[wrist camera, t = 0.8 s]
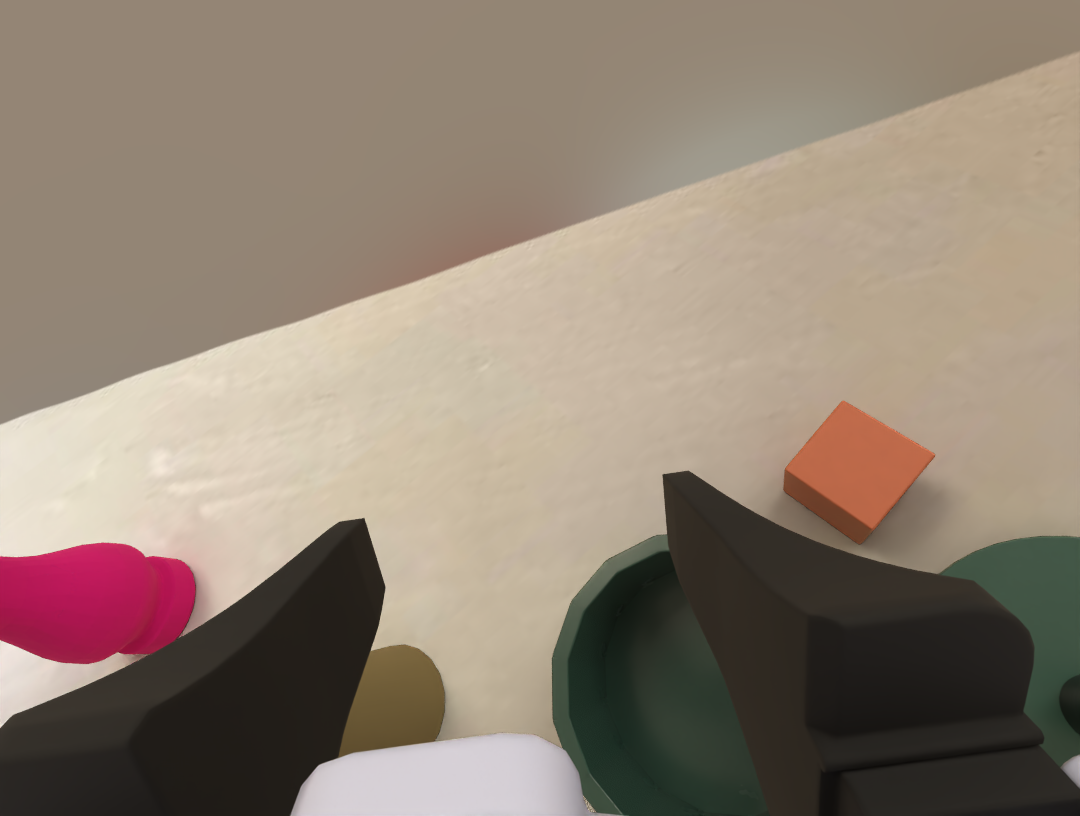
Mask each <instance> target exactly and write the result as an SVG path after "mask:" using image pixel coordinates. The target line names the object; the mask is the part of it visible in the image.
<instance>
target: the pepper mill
mask: <svg viewBox="0 0 1080 816" xmlns="http://www.w3.org/2000/svg"><path fill="white" fill-rule="evenodd" d="M194 600H195V582H194V577H193V574H192V572H191V570H190V569H189V567H188V566H187V565H186V564H185V563H184V562H182V561H180V560H178V559H171V558H164V557H155V556H151V557H145V556H144V555H143V554H142V552H140V551H139V550H137V549H136V548H134V547H132V546H129V545H126V544H117V543H95V544H86V545H80V546H76V547H72V548H68V549H64V550H60V551H56V552H52V553H48V554H43V555H38V556H28V557H0V640H1V641H4V642H6V643H9V644H12V645H14V646H17V647H19V648H21V649H24V650H26V651H28V652H30V653H33V654H35V655H37V656H40V657H42V658H45V659H49V660H53V661H57V662H61V663H75V664H90V663H95V662H99V661H102V660H104V659H106V658H108V657H110V656H111V655H113V654H115V653H117V652H119V653H122V654H152V653H154V652H156V651H157V650H159V649H161V648H163V647H164V646H166V645H168V644H170V643H172V642H173V641H174V640H175V639H176V638H177V637H178V636H179V635H180V634H181V632H182V631H183V629H184V627H185V626H186V624H187V622H188V620H189V617H190V615H191V612H192V609H193V606H194Z"/></svg>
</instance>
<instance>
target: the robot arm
mask: <svg viewBox="0 0 1080 816" xmlns="http://www.w3.org/2000/svg"><path fill="white" fill-rule="evenodd" d="M663 486H664V499H665V512H666V524H667V537H668V548H669V551H670V554H671V557H672V560H673V564H674V567H675V570H676V573H677V576H678V579H679V582H680V584H681V587H682V589H683V591H684V593H685V595H686V597H687V600H688V602H689V604H690V606H691V608H692V610H693V612H694V615H695V617H696V619H697V621H698V623H699V625H700V627H701V629H702V631H703V634H704V636H705V638H706V640H707V642H708V644H709V646H710V648H711V650H712V653H713V655H714V657H715V659H716V661H717V663H718V666H719V668H720V671H721V673H722V675H723V678H724V680H725V683H726V686H727V689H728V691H729V694H730V697H731V700H732V703H733V706H734V709H735V711H736V714H737V717H738V720H739V723H740V726H741V729H742V732H743V735H744V738H745V741H746V744H747V747H748V750H749V753H750V756H751V759H752V762H753V764H754V767H755V771H756V774H757V777H758V780H759V783H760V786H761V789H762V792H763V796H764V799H765V802H766V805H767V808H768V811H769V814H770V816H1080V755H1078V756H1074V757H1072V758H1071V759H1069V760H1068V761H1066V762H1065V763H1063V765H1062V766H1061V768H1060V767H1059V766H1058V765H1057V764H1056V763H1055V761H1054V760H1053V759H1052V758H1051V757H1050V756H1049V755H1048V754H1047V753H1046V752H1045V751H1044V750H1043V749H1042V747H1041V746H1040V745H1039V744H1043V742H1044V735H1043V733H1042V731H1041V729H1040V728H1039V727H1038V726H1037V725H1036V724H1035V723H1034V722H1033V721H1032V720H1031V719H1030V718H1029V717H1028V716H1027V715H1026V714H1025V713H1024V712H1023V711H1024V706H1025V702H1026V697H1027V693H1028V688H1029V684H1030V679H1031V675H1032V671H1033V666H1034V650H1035V646H1034V643H1033V640H1032V637H1031V635H1030V632H1029V630H1028V629H1027V628H1026V627H1025V626H1024V624H1023V623H1022V622H1021V621H1020V620H1019V619H1018V618H1017V617H1016V616H1015V615H1014V614H1012V613H1011V612H1010V611H1009V610H1008V609H1007V608H1006V607H1004V606H1003V605H1002V604H1001V603H1000V602H999V601H997V600H996V599H995V598H994V597H993V596H992V595H990V594H989V593H988V592H987V591H986V590H985V589H983V588H982V587H981V586H980V585H979V584H977V583H976V582H975V581H974V580H968V579H962V578H956V577H951V576H945V575H939V574H933V573H927V572H922V571H916V570H911V569H907V568H903V567H899V566H895V565H890V564H886V563H882V562H878V561H875V560H871V559H867V558H864V557H860V556H857V555H854V554H851V553H848V552H845V551H842V550H839V549H836V548H833V547H830V546H827V545H824V544H821V543H819V542H816V541H813V540H811V539H809V538H806V537H804V536H802V535H799V534H797V533H795V532H792V531H790V530H788V529H786V528H783V527H781V526H779V525H777V524H775V523H773V522H771V521H770V520H768V519H766V518H764V517H762V516H760V515H758V514H756V513H754V512H753V511H751V510H749V509H748V508H746V507H744V506H742V505H741V504H739V503H737V502H736V501H734V500H733V499H731V498H729V497H728V496H726V495H725V494H723V493H721V492H720V491H718V490H717V489H715V488H714V487H712V486H711V485H709V484H708V483H706V482H705V481H703V480H702V479H700V478H699V477H697V476H696V475H694V474H693V473H691V472H690V471H683V472H676V473H669V474H663ZM384 593H385V584H384V581H383V577H382V574H381V571H380V568H379V564H378V561H377V558H376V555H375V551H374V548H373V545H372V541H371V538H370V535H369V532H368V528H367V525H366V522H365V519H364V518H362V519H355V520H348V521H342V522H339V523H337V524H336V525H334V526H333V527H331V528H330V529H329V530H327V531H326V532H325V533H323V534H322V535H321V536H320V537H318V538H317V539H316V540H315V541H314V542H312V543H311V544H310V545H309V546H308V547H306V548H305V549H304V550H303V551H301V552H300V553H299V554H298V555H297V556H295V557H294V558H293V559H292V560H291V561H289V562H288V563H287V564H286V565H284V566H283V567H282V568H281V569H280V570H278V571H277V572H276V573H274V574H273V575H272V576H271V577H269V578H268V579H267V580H265V581H264V582H263V583H261V584H260V585H259V586H257V587H256V588H255V589H254V590H252V591H251V592H250V593H248V594H247V595H246V596H244V597H243V598H242V599H240V600H239V601H237V602H236V603H235V604H233V605H232V606H230V607H229V608H227V609H226V610H224V611H223V612H221V613H220V614H218V615H217V616H215V617H214V618H212V619H210V620H209V621H207V622H206V623H204V624H203V625H201V626H199V627H198V628H196V629H195V630H193V631H191V632H189V633H188V634H186V635H184V636H182V637H180V638H179V639H177V640H175V641H173V642H172V643H170V644H168V645H166V646H164V647H163V648H161V649H159V650H157V651H156V652H154V653H152V654H150V655H148V656H146V657H144V658H142V659H140V660H138V661H136V662H134V663H132V664H130V665H129V666H127V667H125V668H123V669H120V670H118V671H116V672H114V673H112V674H110V675H108V676H106V677H103V678H101V679H99V680H97V681H95V682H93V683H90V684H88V685H86V686H84V687H81V688H79V689H77V690H74V691H72V692H69V693H67V694H64V695H62V696H59V697H57V698H55V699H52V700H50V701H47V702H45V703H42V704H40V705H37V706H35V707H33V708H30V709H28V710H25V711H22V712H20V713H17V714H14V715H13V716H12V717H10V718H9V719H8V720H7V722H6V723H5V724H4V725H3V726H2V727H1V728H0V816H623V815H614V814H605V813H595V812H589V810H588V809H587V806H586V804H585V801H584V799H583V793H582V787H581V782H580V776H579V772H578V770H577V769H576V767H575V765H574V764H573V762H572V760H571V759H570V757H569V755H568V754H567V752H566V750H564V749H562V748H560V747H558V746H556V745H554V744H552V743H550V742H549V741H547V740H545V739H543V738H541V737H539V736H537V735H535V734H521V733H503V732H502V733H494V734H487V735H480V736H472V737H465V738H457V739H450V740H443V741H435V742H428V743H421V744H413V745H406V746H398V747H391V748H384V749H376V750H369V751H362V752H354V753H351V754H348V755H345V756H343V757H340V758H338V756H339V752H340V747H341V743H342V738H343V734H344V730H345V727H346V723H347V720H348V716H349V713H350V710H351V707H352V704H353V701H354V698H355V695H356V692H357V689H358V686H359V683H360V680H361V677H362V674H363V671H364V668H365V665H366V662H367V660H368V657H369V654H370V651H371V647H372V644H373V641H374V638H375V635H376V632H377V629H378V626H379V621H380V616H381V611H382V605H383V599H384Z"/></svg>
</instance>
